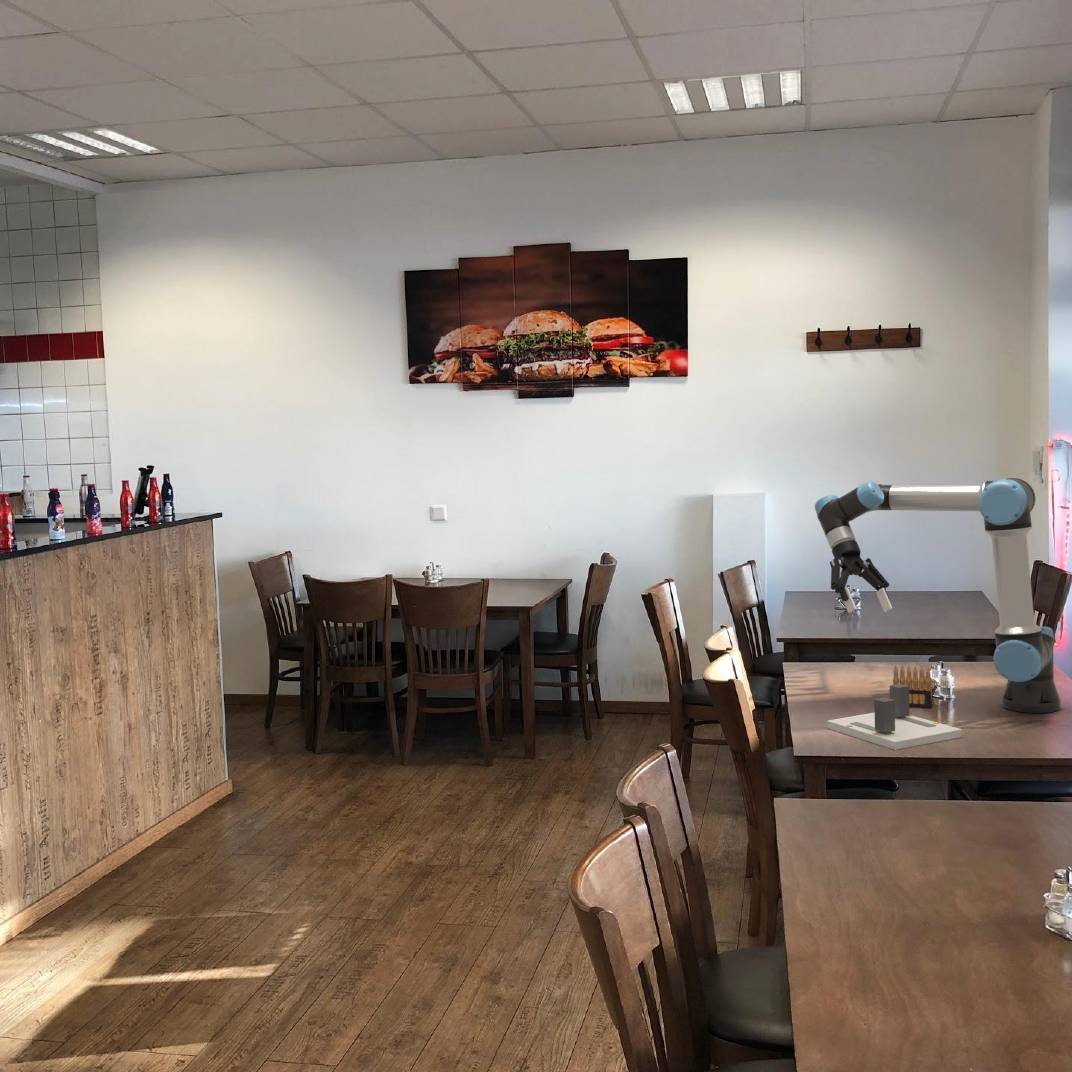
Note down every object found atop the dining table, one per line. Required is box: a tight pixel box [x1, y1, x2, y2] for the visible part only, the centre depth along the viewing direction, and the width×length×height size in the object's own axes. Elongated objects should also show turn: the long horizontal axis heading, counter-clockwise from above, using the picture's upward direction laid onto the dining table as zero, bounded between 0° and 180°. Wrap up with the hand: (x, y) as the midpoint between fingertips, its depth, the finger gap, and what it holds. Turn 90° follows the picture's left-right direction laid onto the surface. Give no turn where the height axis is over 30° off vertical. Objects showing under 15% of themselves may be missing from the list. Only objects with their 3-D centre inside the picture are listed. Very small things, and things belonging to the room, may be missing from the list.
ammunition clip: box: [892, 664, 933, 710], centre depth 321 cm, size 11×2×12 cm, turn 66°
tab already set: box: [873, 697, 895, 733], centre depth 287 cm, size 4×4×8 cm
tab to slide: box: [889, 683, 910, 717], centre depth 302 cm, size 4×4×8 cm
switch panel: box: [826, 711, 963, 751], centre depth 295 cm, size 26×22×2 cm
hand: (870, 610), depth 314 cm, fingers open, 13 cm apart
